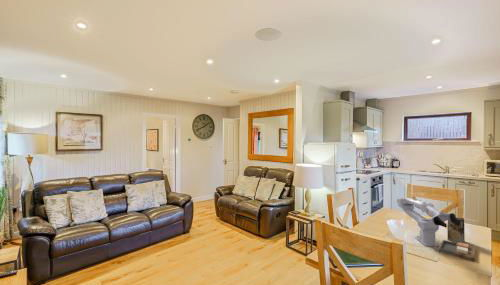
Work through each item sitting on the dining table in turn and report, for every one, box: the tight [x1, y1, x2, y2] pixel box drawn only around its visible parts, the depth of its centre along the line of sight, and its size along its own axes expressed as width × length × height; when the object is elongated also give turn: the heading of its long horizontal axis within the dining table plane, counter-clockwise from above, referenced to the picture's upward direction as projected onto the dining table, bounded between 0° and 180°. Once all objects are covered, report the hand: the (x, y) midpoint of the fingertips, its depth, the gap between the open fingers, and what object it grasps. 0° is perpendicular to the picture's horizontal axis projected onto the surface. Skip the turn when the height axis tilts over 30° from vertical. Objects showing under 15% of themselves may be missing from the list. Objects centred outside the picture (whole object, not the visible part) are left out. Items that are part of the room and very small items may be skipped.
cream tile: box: [457, 246, 468, 254], centre depth 148 cm, size 5×5×2 cm
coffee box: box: [447, 216, 465, 243], centre depth 168 cm, size 9×6×16 cm
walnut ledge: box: [453, 242, 476, 262], centre depth 150 cm, size 9×20×2 cm, turn 135°
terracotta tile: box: [457, 242, 470, 248], centre depth 154 cm, size 5×5×2 cm
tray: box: [438, 239, 458, 256], centre depth 156 cm, size 7×18×2 cm, turn 136°
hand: (452, 224), depth 142 cm, fingers open, 7 cm apart
